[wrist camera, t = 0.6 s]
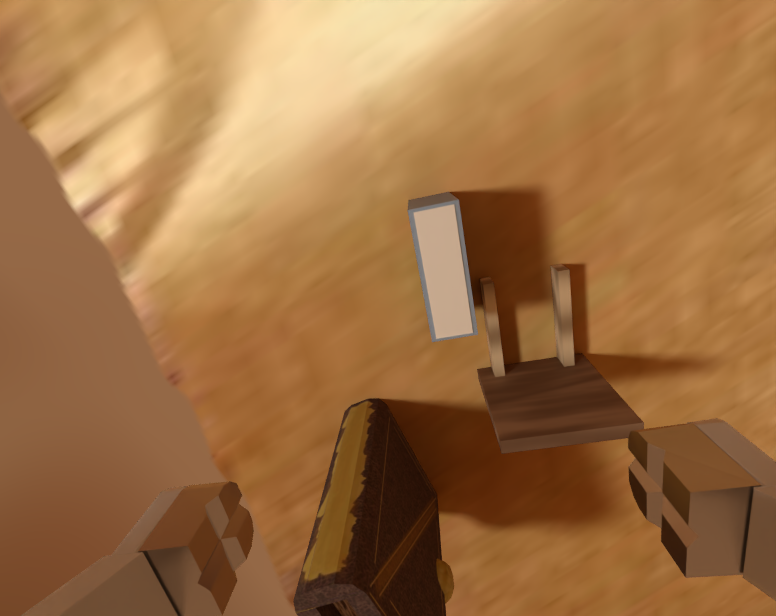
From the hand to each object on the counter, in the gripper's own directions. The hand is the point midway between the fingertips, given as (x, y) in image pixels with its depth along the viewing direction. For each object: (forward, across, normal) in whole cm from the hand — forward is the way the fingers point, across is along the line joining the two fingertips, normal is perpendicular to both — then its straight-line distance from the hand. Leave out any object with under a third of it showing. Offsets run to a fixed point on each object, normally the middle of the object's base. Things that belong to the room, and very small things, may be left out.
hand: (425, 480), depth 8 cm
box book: (+39, -2, +4) cm, 39 cm away
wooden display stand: (+39, -11, +14) cm, 43 cm away
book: (+40, +9, +33) cm, 52 cm away
